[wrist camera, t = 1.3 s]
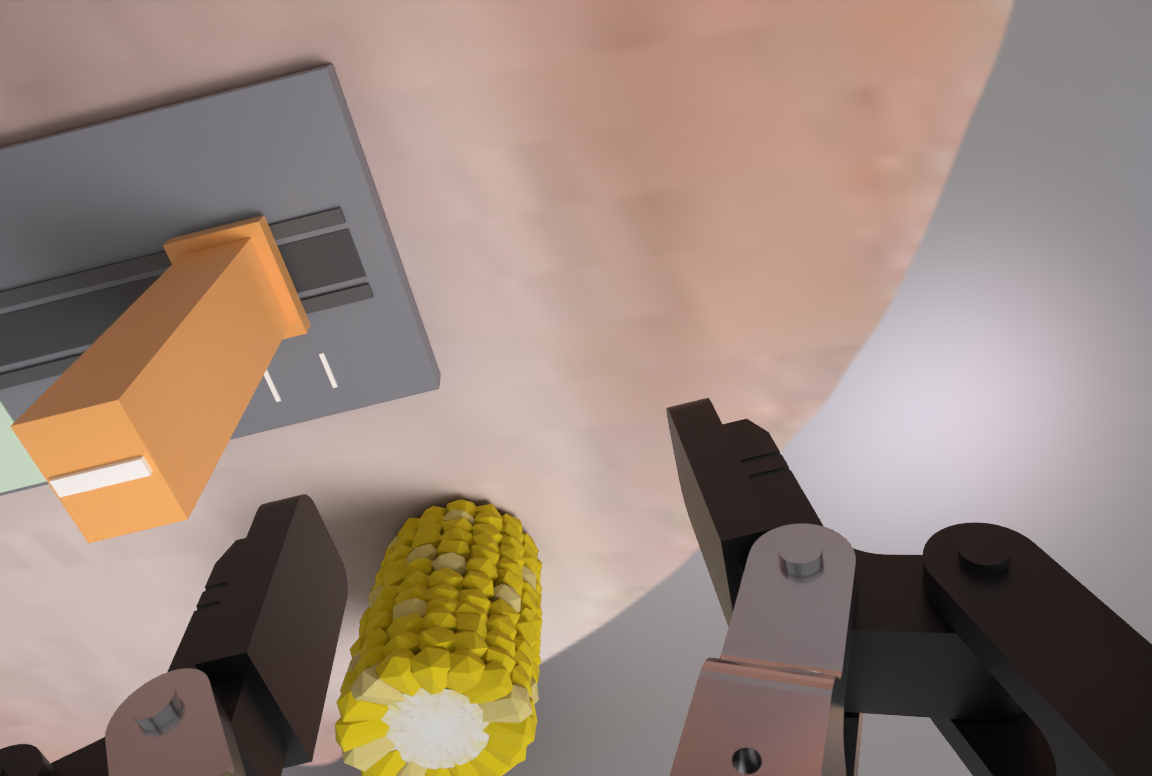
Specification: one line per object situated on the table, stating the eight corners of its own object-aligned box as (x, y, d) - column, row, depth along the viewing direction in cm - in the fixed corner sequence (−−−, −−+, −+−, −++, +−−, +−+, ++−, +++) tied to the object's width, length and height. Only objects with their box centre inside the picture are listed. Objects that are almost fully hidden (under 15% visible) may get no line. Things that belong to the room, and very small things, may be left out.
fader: (223, 346, 39) (77, 566, 25) (170, 238, 36) (-27, 417, 22) (310, 325, 39) (213, 533, 25) (264, 214, 36) (125, 379, 22)
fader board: (-59, 496, 44) (-101, 538, 41) (-272, 216, 36) (-345, 241, 33) (440, 374, 43) (437, 407, 40) (332, 63, 36) (317, 74, 32)
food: (475, 613, 54) (357, 526, 50) (606, 538, 48) (485, 434, 45) (414, 852, 41) (251, 760, 38) (582, 786, 36) (411, 671, 32)
